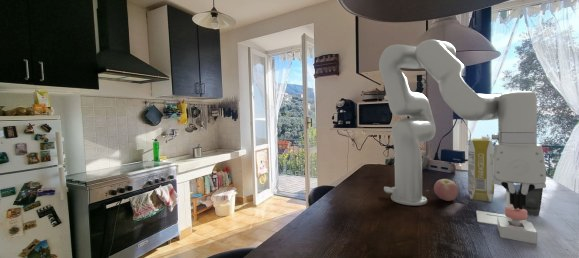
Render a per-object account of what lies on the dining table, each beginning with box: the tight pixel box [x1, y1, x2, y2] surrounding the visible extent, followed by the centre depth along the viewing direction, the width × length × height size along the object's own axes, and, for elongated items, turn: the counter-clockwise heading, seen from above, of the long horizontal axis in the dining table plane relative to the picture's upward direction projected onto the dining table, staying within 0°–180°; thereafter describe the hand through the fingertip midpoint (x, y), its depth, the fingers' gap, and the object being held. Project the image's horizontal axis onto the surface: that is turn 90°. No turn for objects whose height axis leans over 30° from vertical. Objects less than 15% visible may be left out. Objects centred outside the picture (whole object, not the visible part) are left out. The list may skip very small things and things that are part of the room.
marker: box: [505, 183, 522, 221], centre depth 74 cm, size 4×4×11 cm
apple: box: [433, 178, 459, 202], centre depth 96 cm, size 8×8×8 cm
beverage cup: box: [523, 188, 544, 217], centre depth 81 cm, size 7×7×20 cm
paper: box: [475, 210, 527, 226], centre depth 77 cm, size 12×10×1 cm
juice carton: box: [467, 135, 495, 203], centre depth 96 cm, size 9×8×24 cm
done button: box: [504, 206, 528, 227], centre depth 67 cm, size 4×4×5 cm
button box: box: [496, 217, 538, 245], centre depth 67 cm, size 7×7×3 cm
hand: (517, 207), depth 67 cm, fingers closed
